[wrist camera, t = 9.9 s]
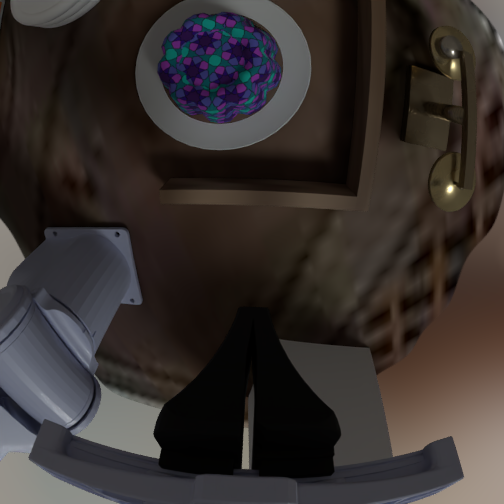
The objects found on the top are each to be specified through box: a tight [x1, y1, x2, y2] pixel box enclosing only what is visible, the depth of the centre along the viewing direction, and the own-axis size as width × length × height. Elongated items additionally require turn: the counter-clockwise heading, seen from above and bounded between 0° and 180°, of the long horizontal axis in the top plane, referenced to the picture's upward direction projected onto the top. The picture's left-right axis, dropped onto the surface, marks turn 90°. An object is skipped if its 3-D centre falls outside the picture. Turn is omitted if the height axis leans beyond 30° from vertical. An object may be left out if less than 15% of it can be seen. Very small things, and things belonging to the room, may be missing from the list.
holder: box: [159, 0, 386, 212], centre depth 16 cm, size 14×18×3 cm
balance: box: [400, 26, 477, 212], centre depth 14 cm, size 13×4×7 cm, turn 178°
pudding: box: [135, 0, 311, 150], centre depth 15 cm, size 12×12×5 cm
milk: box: [248, 339, 393, 469], centre depth 21 cm, size 12×12×26 cm
